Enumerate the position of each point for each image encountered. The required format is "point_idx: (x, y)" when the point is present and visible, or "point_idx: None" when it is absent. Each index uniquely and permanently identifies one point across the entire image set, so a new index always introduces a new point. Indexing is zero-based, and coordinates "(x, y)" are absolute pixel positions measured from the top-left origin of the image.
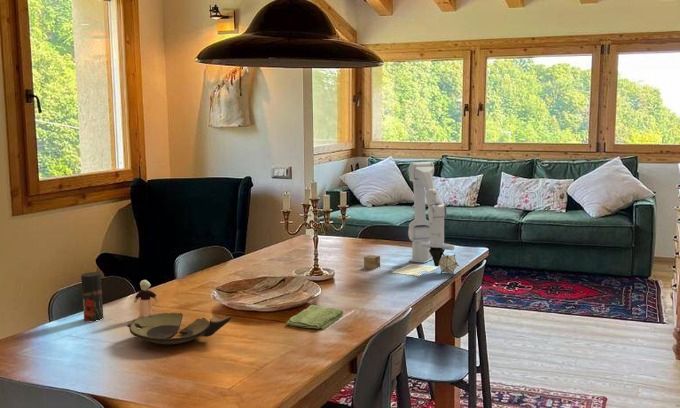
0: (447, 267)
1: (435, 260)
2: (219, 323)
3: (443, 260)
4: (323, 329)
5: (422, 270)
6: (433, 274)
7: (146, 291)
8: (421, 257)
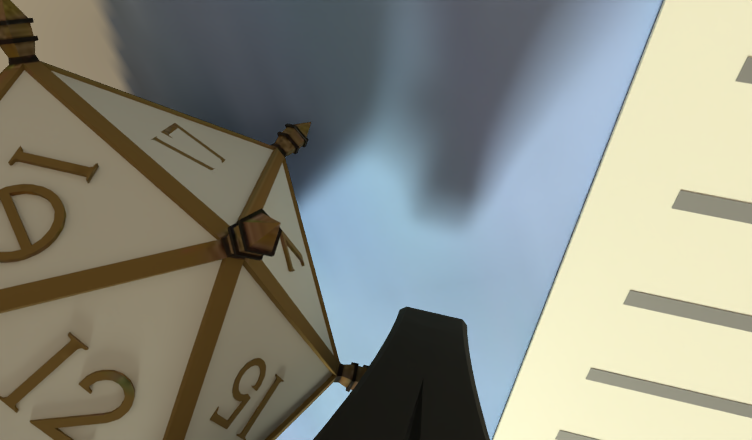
0: (3, 75)
1: (420, 420)
2: None
3: (24, 253)
4: None
5: (742, 271)
6: (438, 31)
7: None
8: None
